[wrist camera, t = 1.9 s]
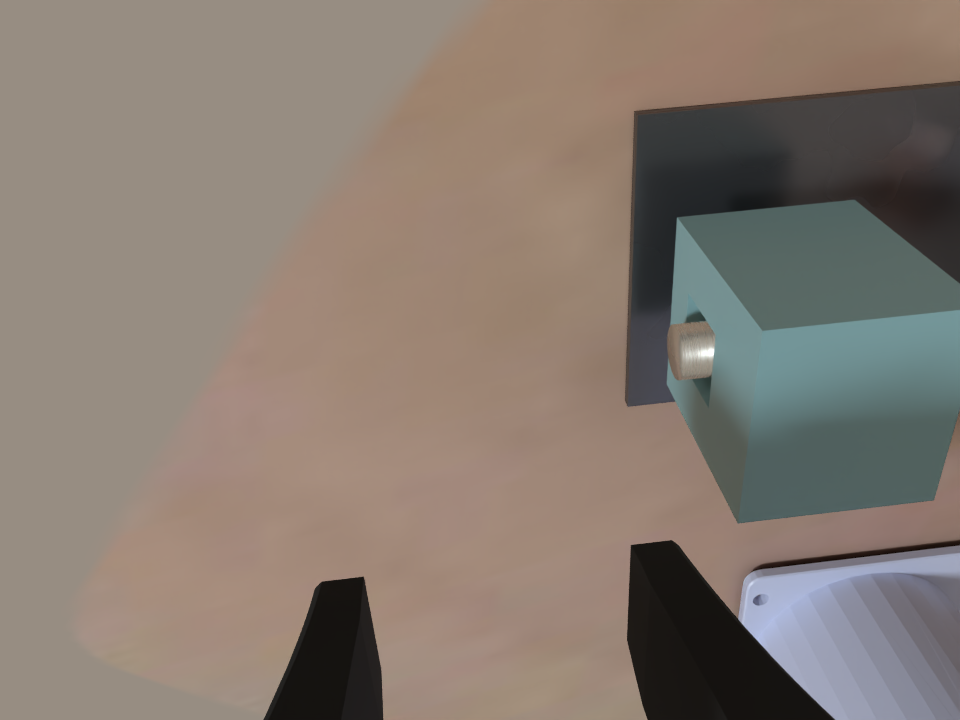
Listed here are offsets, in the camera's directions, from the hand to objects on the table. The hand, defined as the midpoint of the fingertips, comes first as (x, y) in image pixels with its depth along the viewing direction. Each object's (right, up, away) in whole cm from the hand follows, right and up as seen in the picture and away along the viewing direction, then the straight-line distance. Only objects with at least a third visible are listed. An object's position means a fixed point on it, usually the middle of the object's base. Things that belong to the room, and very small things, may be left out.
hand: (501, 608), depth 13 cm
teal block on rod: (+6, +5, +7) cm, 11 cm away
